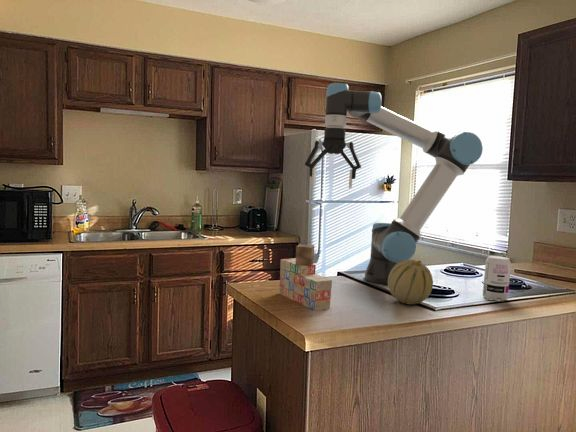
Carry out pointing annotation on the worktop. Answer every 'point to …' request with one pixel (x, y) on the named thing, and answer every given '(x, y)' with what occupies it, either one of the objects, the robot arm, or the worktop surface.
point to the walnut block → (304, 255)
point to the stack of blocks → (304, 285)
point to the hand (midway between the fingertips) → (331, 187)
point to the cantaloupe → (410, 282)
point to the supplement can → (496, 278)
